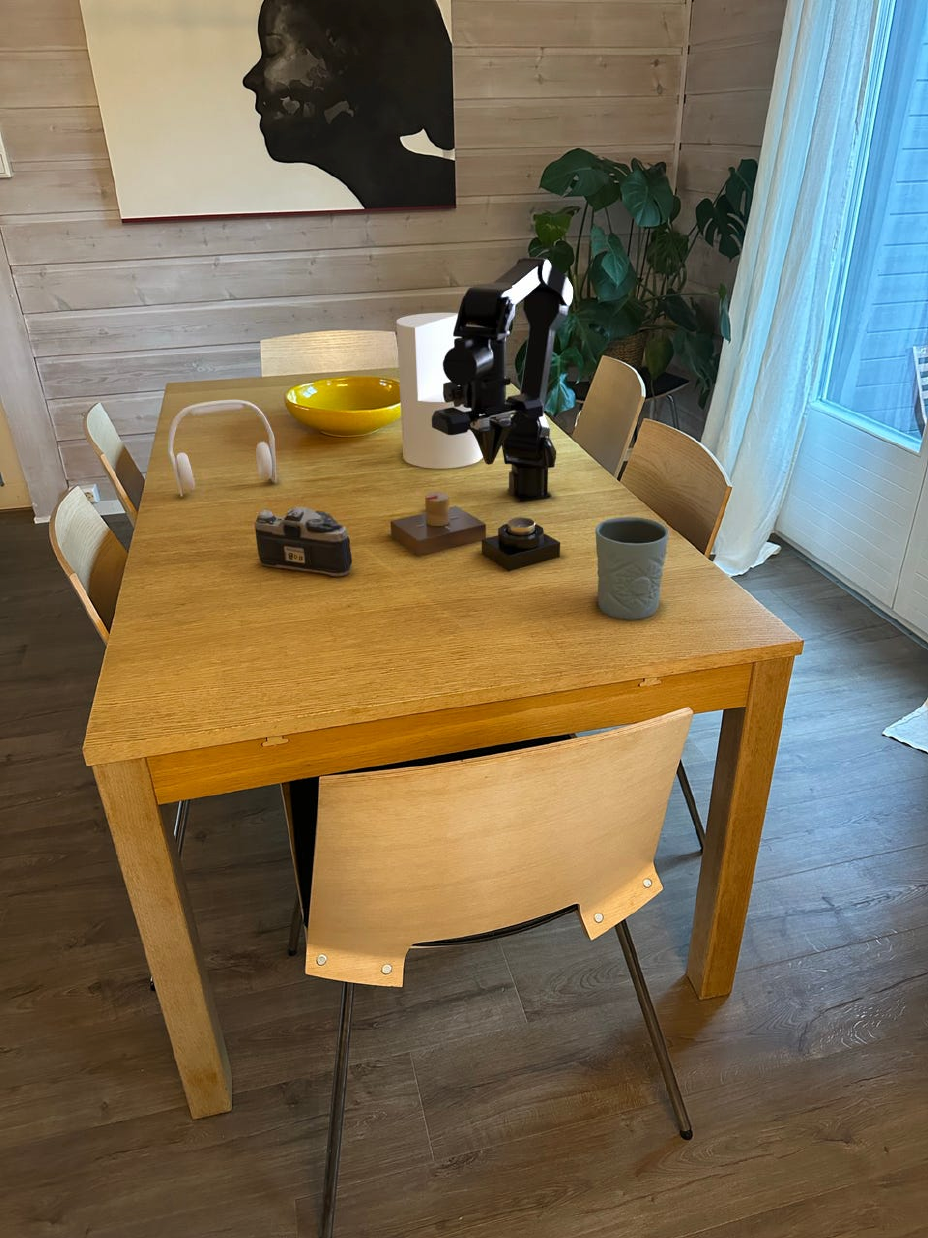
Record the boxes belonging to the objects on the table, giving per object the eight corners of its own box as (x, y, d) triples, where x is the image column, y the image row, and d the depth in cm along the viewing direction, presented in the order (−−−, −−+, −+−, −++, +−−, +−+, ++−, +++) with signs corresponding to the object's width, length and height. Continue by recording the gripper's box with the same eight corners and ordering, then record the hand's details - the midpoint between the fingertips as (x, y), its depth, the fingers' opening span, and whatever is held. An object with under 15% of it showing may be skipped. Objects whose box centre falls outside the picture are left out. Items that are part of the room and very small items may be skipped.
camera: (370, 555, 148) (366, 497, 144) (342, 581, 140) (337, 521, 135) (285, 543, 153) (278, 487, 148) (253, 568, 145) (245, 509, 140)
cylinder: (386, 460, 191) (378, 323, 178) (432, 439, 204) (427, 310, 191) (455, 473, 183) (452, 331, 170) (498, 450, 196) (498, 316, 183)
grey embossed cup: (645, 628, 125) (652, 549, 120) (579, 611, 130) (583, 534, 124) (671, 599, 133) (679, 524, 127) (608, 584, 138) (613, 510, 132)
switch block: (531, 541, 153) (532, 516, 150) (559, 557, 147) (560, 531, 144) (481, 554, 148) (481, 528, 146) (508, 571, 142) (508, 545, 140)
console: (456, 521, 161) (455, 504, 159) (486, 540, 153) (486, 522, 152) (391, 537, 155) (390, 519, 154) (418, 557, 147) (418, 539, 146)
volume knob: (440, 515, 155) (440, 489, 153) (454, 522, 152) (453, 495, 150) (421, 521, 153) (420, 494, 151) (434, 528, 150) (433, 501, 148)
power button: (524, 525, 148) (524, 515, 147) (539, 534, 145) (540, 524, 144) (502, 531, 146) (502, 521, 145) (517, 540, 143) (517, 529, 142)
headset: (178, 504, 170) (161, 411, 162) (174, 492, 176) (158, 402, 167) (283, 489, 177) (272, 399, 168) (276, 478, 182) (265, 390, 174)
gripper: (507, 353, 155) (507, 441, 162) (412, 369, 146) (417, 461, 154) (546, 365, 146) (544, 458, 154) (448, 383, 138) (451, 480, 146)
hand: (488, 463), depth 152 cm, fingers closed
